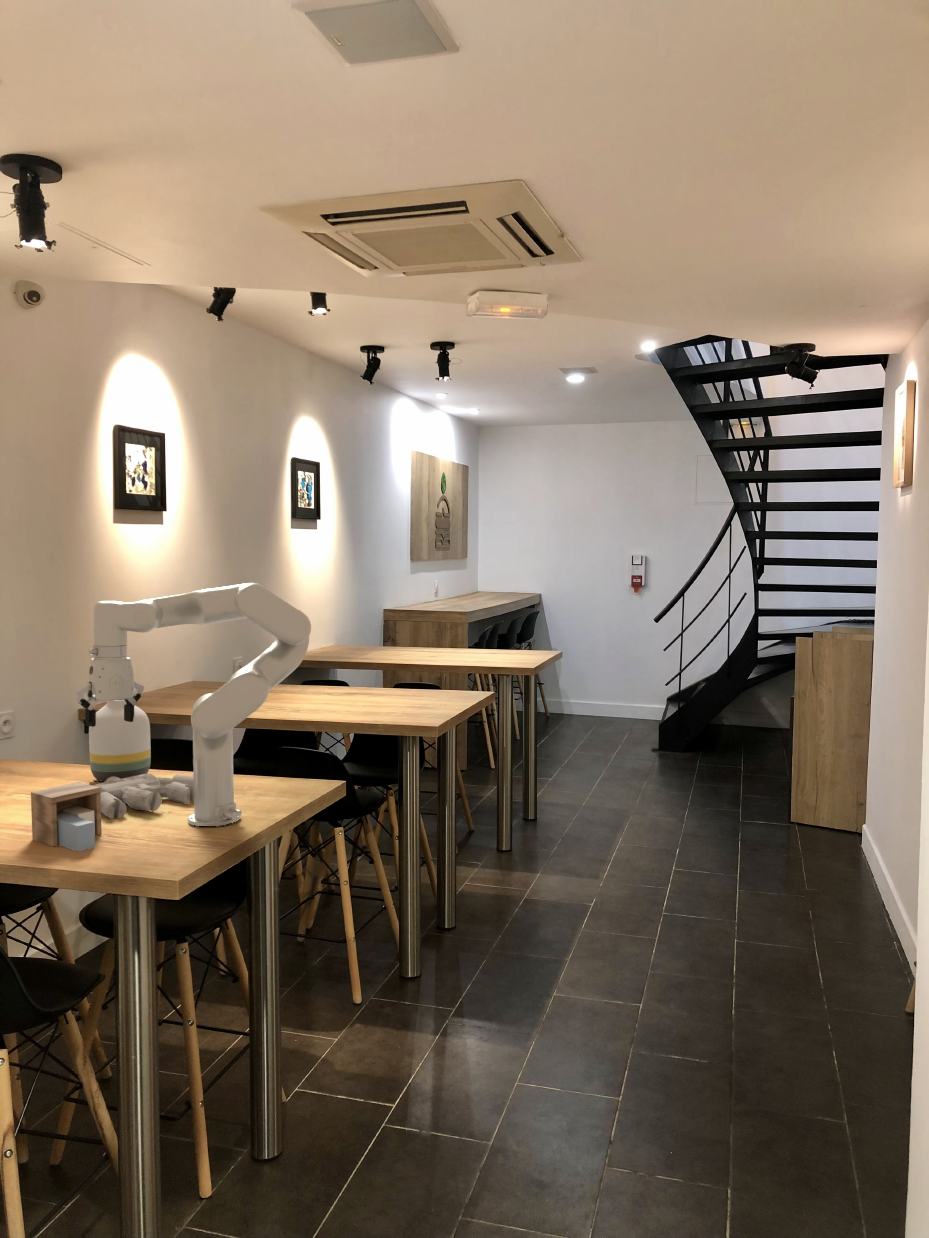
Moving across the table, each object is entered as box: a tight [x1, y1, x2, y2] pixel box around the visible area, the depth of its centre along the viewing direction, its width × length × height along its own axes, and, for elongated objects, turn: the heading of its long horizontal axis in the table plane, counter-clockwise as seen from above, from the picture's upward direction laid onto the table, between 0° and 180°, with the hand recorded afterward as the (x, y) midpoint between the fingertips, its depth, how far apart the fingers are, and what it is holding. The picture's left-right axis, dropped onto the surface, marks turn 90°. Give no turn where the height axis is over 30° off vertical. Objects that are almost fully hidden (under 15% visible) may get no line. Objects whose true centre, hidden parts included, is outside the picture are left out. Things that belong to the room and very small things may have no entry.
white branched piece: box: [93, 772, 194, 820], centre depth 250 cm, size 31×7×30 cm
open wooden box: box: [30, 781, 103, 847], centre depth 217 cm, size 9×12×11 cm
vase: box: [88, 700, 152, 783], centre depth 274 cm, size 17×17×24 cm
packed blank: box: [62, 806, 95, 833], centre depth 219 cm, size 7×4×6 cm, turn 53°
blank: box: [57, 813, 96, 852], centre depth 212 cm, size 13×4×6 cm, turn 52°
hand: (110, 723), depth 223 cm, fingers open, 9 cm apart
